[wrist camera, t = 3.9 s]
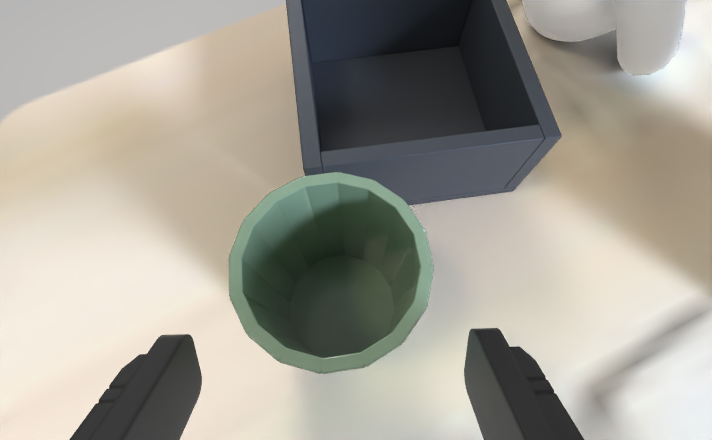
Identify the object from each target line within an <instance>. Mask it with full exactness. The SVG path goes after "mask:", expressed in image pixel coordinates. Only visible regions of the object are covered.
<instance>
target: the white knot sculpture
mask: <svg viewBox="0 0 712 440" xmlns="http://www.w3.org/2000/svg"><path fill="white" fill-rule="evenodd" d="M686 1H687V0H522V3H523V7H524V11H525V15H526V17H527V19H528V21H529V22H530V24H531V26H532V27H533V28H534V29H535V30H536V31H537V32H538V33H539V34H541V35H543V36H545V37H547V38H549V39H553V40H558V41H568V42H575V41H583V40H588V39H592V38H595V37H598V36H601V35H603V34H606V33H608V32H610V31H613V30H615V29H616V31H617V59H618V61H619V64H620V66H621V68H622V70H624V71H626V72H628V73H630V74H631V75H633V76H639V75H650V74H652V73H654V72H656V71H658V70H660V69H663V68H664V67H665V66H666V65H667V64H668V63H669V62H670V61H671V60H672V58H673V57H674V56H675V55H676V53H677V51H678V48H679V44H680V39H681V35H682V30H683V24H684V18H685V11H686Z"/></svg>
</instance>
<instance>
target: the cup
mask: <svg viewBox="0 0 712 440" xmlns="http://www.w3.org/2000/svg"><path fill="white" fill-rule="evenodd" d="M229 257H230V258H229V296H230V300H231V302H232V304H233V306H234V309H235V311H236V313H237V315H238V317H239V319H240V322H241V324H242V326H243V328H244V330H245V332H246V334H247V335H248V336H249V337H250V338H251V339H252V340H253V341H255V342H256V343H257V344H258V345H259V346H260V347H262V348H263V349H264V350H265V351H266V352H267V353H269V354H270V355H271V356H272V357H273V358H275V359H276V360H277V361H279V362H280V363H283V364H287V365H290V366H294V367H297V368H301V369H305V370H308V371H312V372H315V373H319V374H321V373H322V374H326V373H333V372H339V371H346V370H352V369H359V368H364V367H367V366H369V365H370V364H372V363H374V362H375V361H377V360H378V359H380V358H381V357H383V356H384V355H386V354H388V353H389V352H391V351H392V350H394V349H395V348H397V347H398V346H400V345H402V343H403V342H404V341H405V340H406V338H407V337H408V335H409V334H410V332H411V331H412V329H413V328H414V326H415V325H416V323H417V322H418V320H419V319H420V317H421V316H422V314H423V313H424V311H425V310H426V307H427V304H428V299H429V293H430V288H431V282H432V277H433V271H434V269H433V268H434V266H433V261H432V257H431V252H430V248H429V243H428V239H427V235H426V231H425V229H424V228H423V226H422V225H421V223H420V222H419V220H418V219H417V218H416V216H415V215H414V213H413V212H412V210H411V209H410V208H409V206H408V205H407V203H406V202H405V201H403V199H402V198H400V197H399V196H397V195H396V194H394V193H393V192H391V191H390V190H388V189H387V188H385V187H384V186H382V185H381V184H379V183H378V182H376V181H374V180H372V179H368V178H363V177H359V176H354V175H350V174H345V173H341V172H333V173H325V174H317V175H309V176H303V177H300V178H298V179H296V180H294V181H292V182H290V183H288V184H286V185H284V186H282V187H280V188H278V189H276V190H274V191H272V192H270V193H269V194H268V195H267V196H266V197H265V198H264V199H263V200H262V201H261V202H260V203H259V204H258V205H257V206H256V208H255V209H254V210H253V211H252V212H251V213H250V214H249V215H248V216H247V217H246V218H245V220H244V222H242V225H241V227H240V230H239V232H238V235H237V237H236V240H235V243H234V245H233V248H232V250H231V253H230V255H229Z"/></svg>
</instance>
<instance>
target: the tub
mask: <svg viewBox="0 0 712 440" xmlns="http://www.w3.org/2000/svg"><path fill="white" fill-rule="evenodd" d="M286 5H287V15H288V25H289V34H290V44H291V54H292V63H293V73H294V83H295V92H296V102H297V112H298V121H299V131H300V141H301V150H302V160H303V169H304V173H305V176H309V175H317V174H325V173H333V172H341V173H345V174H350V175H354V176H359V177H363V178H368V179H372V180H374V181H376V182H378V183H379V184H381V185H382V186H384V187H385V188H387V189H388V190H390V191H391V192H393V193H394V194H396V195H397V196H399V197H400V198H402V199H403V201H405V202H406V203H407V205H413V204H420V203H428V202H435V201H443V200H450V199H458V198H465V197H473V196H480V195H487V194H495V193H502V192H510V191H514V190H515V188H516V187H517V186H518V185H519V184H520V183H521V182H522V181H523V179H524V178H525V177H526V176H527V175H528V174H529V173H530V172H531V170H532V169H533V168H534V167H535V166H536V165H537V164H538V163H539V161H540V160H541V159H542V158H543V157H544V156H545V155H546V154H547V152H548V151H549V150H550V149H551V148H552V147H553V146H554V145H555V143H556V142H557V141H558V140H559V139H560V138H561V133H560V131H559V128H558V126H557V123H556V121H555V118H554V116H553V114H552V111H551V109H550V106H549V104H548V101H547V99H546V96H545V94H544V92H543V89H542V87H541V84H540V82H539V79H538V77H537V75H536V72H535V70H534V67H533V65H532V62H531V60H530V57H529V55H528V53H527V50H526V48H525V45H524V43H523V40H522V38H521V36H520V33H519V31H518V28H517V26H516V23H515V21H514V18H513V16H512V14H511V11H510V9H509V6H508V4H507V1H506V0H286Z"/></svg>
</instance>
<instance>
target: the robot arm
mask: <svg viewBox="0 0 712 440" xmlns="http://www.w3.org/2000/svg"><path fill="white" fill-rule="evenodd" d="M464 377H465V385H466V389H467V393H468V396H469V399H470V401H471V404H472V407H473V410H474V413H475V416H476V418H477V421H478V424H479V427H480V430H481V433H482V436H483V438H484V440H584V439H583V437H582V435H581V434H580V432H579V430H578V429H577V427H576V426H575V424H574V422H573V421H572V419H571V417H570V416H569V414H568V413H567V411H566V409H565V408H564V406H563V404H562V403H561V401H560V400H559V398H558V396H557V395H556V394H554V390H553V388H552V387H551V385H550V383H549V382H548V380H546V379H545V375H544V374H543V372H542V370H541V369H540V367H539V365H538V364H537V362H536V361H535V360H534V359H533V358H532V357H531V356H530V355H529V354H527V353H526V352H525V351H524V350H523V349H522V348H520V347H509V345H508V343H507V342H506V340H505V338H504V336H503V334H502V333H501V331H500V330H499V329H498V328H485V329H471V330H470V332H469V337H468V345H467V353H466V360H465V368H464ZM201 384H202V376H201V371H200V367H199V362H198V358H197V354H196V350H195V346H194V342H193V339H192V337H191V335H188V334H186V335H161V336H160V337H159V338H158V339H157V340H156V342H155V343H154V345H153V346H152V347H151V349H150V350H149V352H148V353H147V354H140V355H139V356H137V357H136V358H135V359H134V360H132V361H131V362H130V363H129V364H127V365H126V366H125V367H124V368H122V369H121V371H120V372H119V373H118V375H117V376H116V377H115V379H114V380H113V382H112V383H111V384H110V386H109V389H107V390H106V391H105V392H104V394H103V395H102V396H101V398H100V399H99V403H98V404H96V405H95V406H94V407H93V409H92V410H91V411H90V413H89V414H88V415H87V417H86V418H85V419H84V421H83V422H82V423H81V425H80V426H79V428H78V429H77V430H76V432H75V433H74V434H73V436H72V437H71V438H70V440H180V437H181V435H182V433H183V431H184V428H185V426H186V424H187V422H188V420H189V417H190V415H191V413H192V411H193V408H194V406H195V404H196V402H197V400H198V397H199V394H200V390H201Z"/></svg>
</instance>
